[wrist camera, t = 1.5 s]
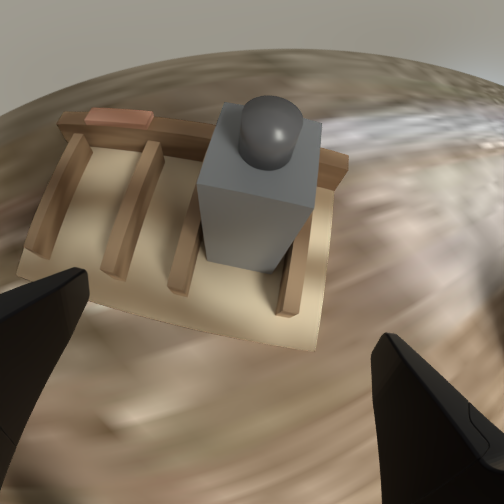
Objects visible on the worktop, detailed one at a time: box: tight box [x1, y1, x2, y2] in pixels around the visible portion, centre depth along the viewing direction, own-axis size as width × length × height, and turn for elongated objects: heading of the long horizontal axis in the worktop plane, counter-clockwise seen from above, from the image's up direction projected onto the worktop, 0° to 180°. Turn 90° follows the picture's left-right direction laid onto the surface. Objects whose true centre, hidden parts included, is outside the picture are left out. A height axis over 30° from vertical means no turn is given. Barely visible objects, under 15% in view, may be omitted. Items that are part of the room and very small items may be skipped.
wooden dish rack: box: [16, 108, 349, 352], centre depth 20 cm, size 14×24×5 cm, turn 79°
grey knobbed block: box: [196, 96, 322, 274], centre depth 16 cm, size 4×4×12 cm
